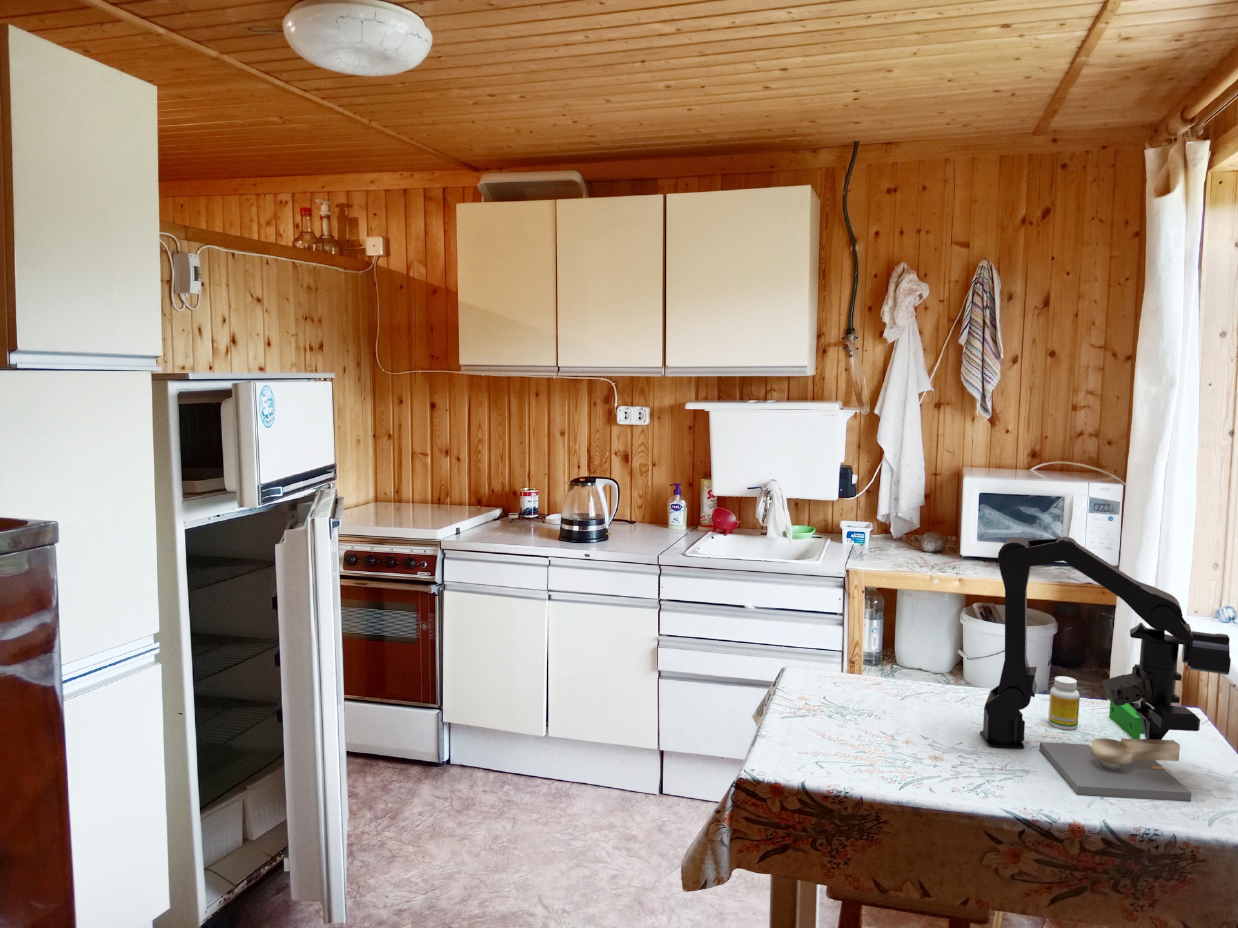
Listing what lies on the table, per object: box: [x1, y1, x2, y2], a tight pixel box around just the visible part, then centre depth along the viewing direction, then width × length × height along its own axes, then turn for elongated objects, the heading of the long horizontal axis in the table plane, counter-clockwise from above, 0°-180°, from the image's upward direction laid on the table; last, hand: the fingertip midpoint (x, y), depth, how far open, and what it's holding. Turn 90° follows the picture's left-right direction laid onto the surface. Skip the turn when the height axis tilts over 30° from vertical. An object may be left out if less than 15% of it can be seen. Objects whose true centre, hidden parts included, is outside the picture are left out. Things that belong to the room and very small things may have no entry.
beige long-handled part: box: [1091, 737, 1181, 765], centre depth 156 cm, size 14×6×3 cm, turn 86°
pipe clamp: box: [1108, 700, 1145, 739], centre depth 176 cm, size 11×4×5 cm, turn 173°
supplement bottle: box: [1047, 675, 1081, 731], centre depth 178 cm, size 5×5×10 cm
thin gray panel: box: [1038, 741, 1192, 802], centre depth 156 cm, size 18×18×3 cm
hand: (1151, 747), depth 158 cm, fingers closed
